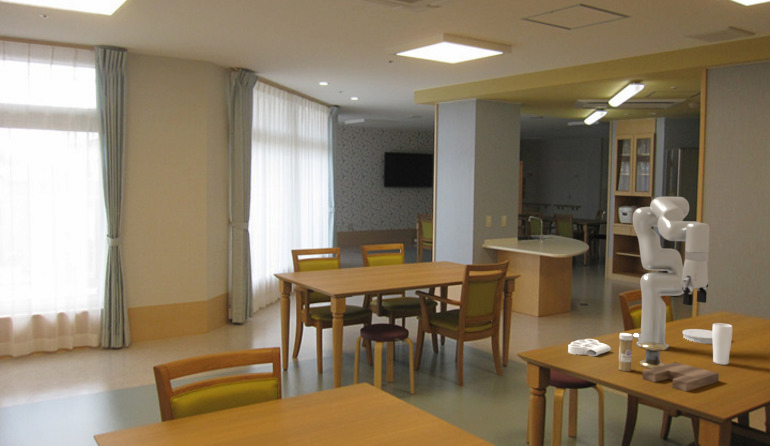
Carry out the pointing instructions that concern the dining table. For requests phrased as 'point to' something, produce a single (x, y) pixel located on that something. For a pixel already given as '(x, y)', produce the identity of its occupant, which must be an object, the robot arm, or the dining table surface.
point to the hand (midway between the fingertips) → (694, 303)
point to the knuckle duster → (588, 347)
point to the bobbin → (652, 354)
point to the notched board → (681, 376)
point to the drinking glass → (721, 342)
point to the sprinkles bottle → (625, 351)
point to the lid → (698, 335)
